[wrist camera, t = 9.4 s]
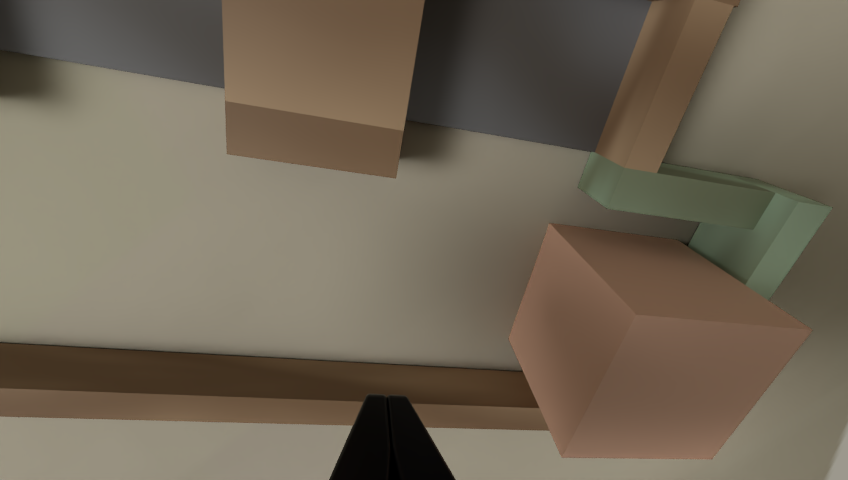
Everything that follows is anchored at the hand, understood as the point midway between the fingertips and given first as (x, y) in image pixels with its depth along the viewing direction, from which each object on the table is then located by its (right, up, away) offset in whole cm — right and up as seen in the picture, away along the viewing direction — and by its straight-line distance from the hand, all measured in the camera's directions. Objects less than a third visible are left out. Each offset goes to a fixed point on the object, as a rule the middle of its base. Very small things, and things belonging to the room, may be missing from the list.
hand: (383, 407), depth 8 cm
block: (+7, +2, +7) cm, 10 cm away
